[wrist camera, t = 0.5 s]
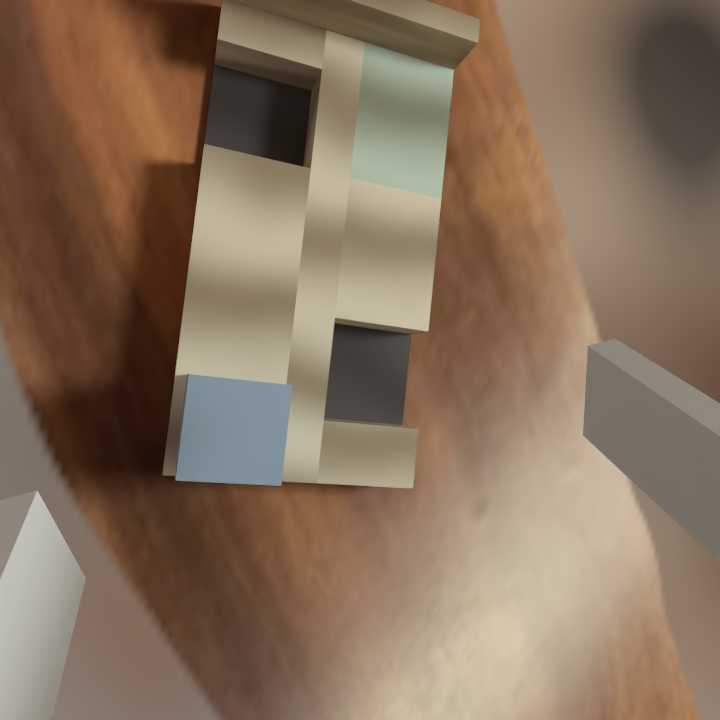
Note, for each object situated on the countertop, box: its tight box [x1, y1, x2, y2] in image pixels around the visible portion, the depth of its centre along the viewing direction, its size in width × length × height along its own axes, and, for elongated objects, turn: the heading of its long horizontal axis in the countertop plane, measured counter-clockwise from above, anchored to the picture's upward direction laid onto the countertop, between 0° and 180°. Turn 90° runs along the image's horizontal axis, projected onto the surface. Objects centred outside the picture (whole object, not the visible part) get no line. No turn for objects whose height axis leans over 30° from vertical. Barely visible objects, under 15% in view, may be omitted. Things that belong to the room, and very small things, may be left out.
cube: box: [176, 374, 293, 486], centre depth 23 cm, size 4×4×4 cm
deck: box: [162, 0, 480, 488], centre depth 27 cm, size 23×12×5 cm, turn 174°
